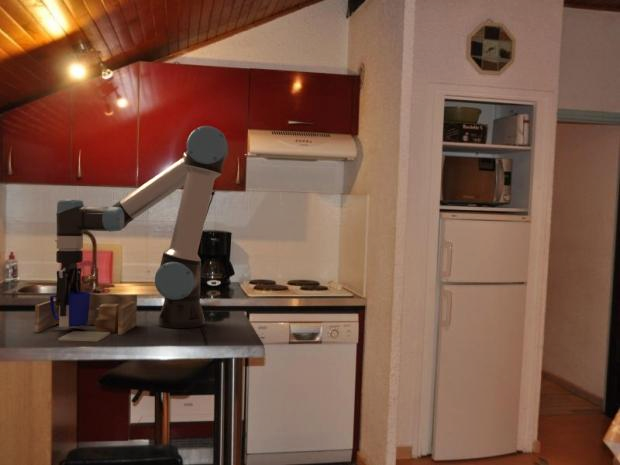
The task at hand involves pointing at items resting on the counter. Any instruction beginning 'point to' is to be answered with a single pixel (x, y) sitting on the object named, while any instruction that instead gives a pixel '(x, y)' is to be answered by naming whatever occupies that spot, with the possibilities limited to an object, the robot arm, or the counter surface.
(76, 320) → the mug
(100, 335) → the sage tile
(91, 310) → the rack
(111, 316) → the offcut oak
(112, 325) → the offcut walnut
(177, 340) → the counter surface
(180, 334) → the counter surface
